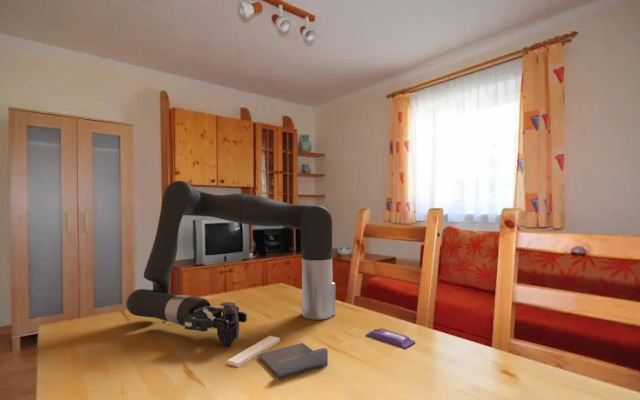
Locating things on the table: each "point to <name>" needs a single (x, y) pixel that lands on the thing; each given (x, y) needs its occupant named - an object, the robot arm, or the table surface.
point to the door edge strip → (252, 351)
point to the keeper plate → (294, 360)
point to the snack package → (391, 337)
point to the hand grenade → (233, 331)
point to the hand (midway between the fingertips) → (237, 321)
